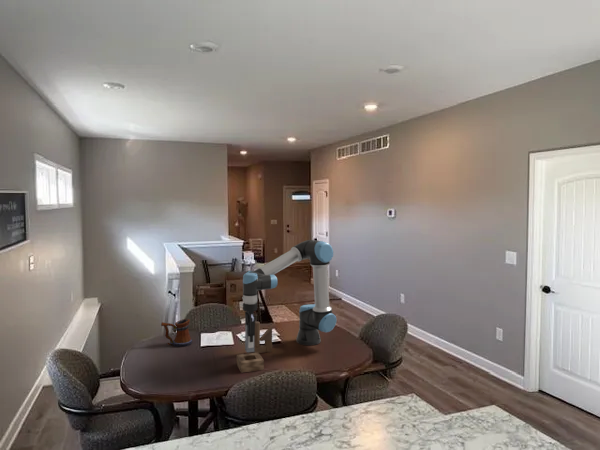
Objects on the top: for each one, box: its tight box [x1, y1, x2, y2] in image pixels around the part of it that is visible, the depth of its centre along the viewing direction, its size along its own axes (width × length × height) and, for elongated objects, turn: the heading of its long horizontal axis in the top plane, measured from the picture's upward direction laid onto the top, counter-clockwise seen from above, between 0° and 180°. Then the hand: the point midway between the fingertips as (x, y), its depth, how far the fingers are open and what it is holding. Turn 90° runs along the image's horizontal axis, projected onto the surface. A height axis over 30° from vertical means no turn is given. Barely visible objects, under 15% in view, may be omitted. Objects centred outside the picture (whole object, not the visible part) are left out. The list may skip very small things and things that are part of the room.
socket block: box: [236, 352, 265, 374], centre depth 225 cm, size 12×12×5 cm
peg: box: [244, 323, 254, 354], centre depth 224 cm, size 4×4×14 cm
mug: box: [160, 318, 193, 348], centre depth 258 cm, size 18×12×15 cm, turn 108°
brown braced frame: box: [252, 321, 273, 354], centre depth 247 cm, size 4×11×18 cm, turn 111°
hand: (249, 346), depth 224 cm, fingers closed on peg, 4 cm apart
